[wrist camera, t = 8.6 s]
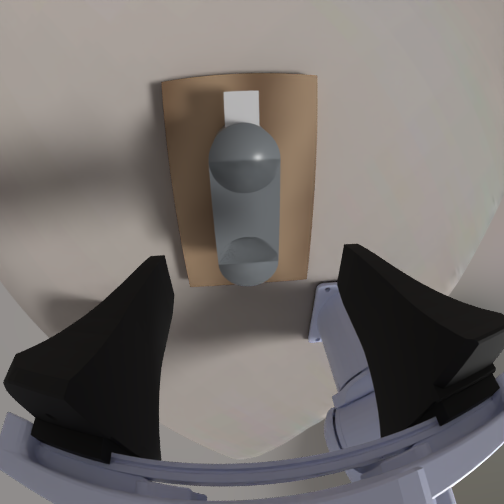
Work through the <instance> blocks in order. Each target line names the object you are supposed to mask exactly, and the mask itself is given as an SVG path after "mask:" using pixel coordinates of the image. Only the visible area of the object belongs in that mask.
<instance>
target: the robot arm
mask: <svg viewBox="0 0 504 504" xmlns="http://www.w3.org/2000/svg"><path fill="white" fill-rule="evenodd" d="M328 287H329V288H328ZM326 288H328V289H326ZM173 305H174V292H173V288H172V284H171V280H170V276H169V272H168V268H167V264H166V259H165V255H162V256H150V257H149V258H148V259H147V260H145V261H144V262H143V263H142V264H141V265H140V266H139V267H138V268H137V269H136V270H135V271H134V272H133V273H132V274H131V275H130V276H129V277H128V278H127V279H126V280H125V281H124V282H123V283H122V284H121V285H120V286H119V287H118V288H117V289H115V290H114V291H113V292H112V293H111V294H110V295H109V296H108V297H107V298H106V299H105V300H104V301H102V302H101V303H100V304H99V305H98V306H96V307H95V308H94V309H93V310H91V311H90V312H89V313H88V314H86V315H85V316H84V317H82V318H81V319H79V320H78V321H76V322H75V323H73V324H72V325H70V326H69V327H67V328H66V329H65V330H63V331H61V332H60V333H58V334H56V335H55V336H53V337H51V338H49V339H47V340H46V341H44V342H42V343H40V344H38V345H36V346H33V347H31V348H29V349H27V350H25V351H22V352H20V353H18V354H16V355H15V357H14V359H13V362H12V364H11V366H10V368H9V370H8V373H7V375H6V377H5V379H4V382H3V383H4V386H5V388H6V390H7V391H8V393H9V394H10V395H11V396H12V397H13V398H14V399H15V400H16V401H17V402H18V403H19V404H20V405H21V406H23V407H24V408H25V409H26V410H27V411H28V412H29V413H31V414H32V415H33V416H34V417H35V421H34V424H33V423H31V422H29V421H28V420H26V419H24V418H22V417H19V416H17V415H15V414H13V413H11V412H7V415H6V418H5V421H4V425H3V428H2V431H1V435H0V470H1V471H3V472H4V473H6V474H7V475H9V476H10V477H12V478H13V479H15V480H16V481H18V482H19V483H21V484H22V485H24V486H25V487H27V488H29V489H30V490H32V491H33V492H35V493H37V494H38V495H40V496H42V497H43V498H45V499H47V500H49V501H51V502H52V503H54V504H456V501H455V498H454V494H453V491H452V488H451V487H452V486H454V485H455V484H456V483H458V482H459V481H460V480H462V479H463V478H464V477H466V476H467V475H468V474H469V473H471V472H472V471H473V470H474V469H476V468H477V467H478V466H479V465H480V464H481V463H483V462H484V461H485V460H486V459H487V458H489V457H490V456H491V455H492V454H493V453H494V452H495V451H496V450H497V449H498V448H499V447H500V446H501V445H502V444H503V443H504V372H503V373H502V374H500V375H499V376H498V377H497V378H496V379H495V377H494V376H493V374H492V373H494V372H495V370H496V368H495V366H494V364H493V362H494V361H495V359H496V358H497V357H498V356H499V354H500V353H501V352H502V350H503V349H504V315H503V314H501V313H498V312H494V311H490V310H485V309H481V308H478V307H475V306H472V305H469V304H466V303H463V302H461V301H458V300H455V299H453V298H451V297H448V296H446V295H444V294H442V293H439V292H437V291H435V290H433V289H431V288H429V287H428V286H426V285H424V284H422V283H420V282H418V281H416V280H415V279H413V278H411V277H410V276H408V275H407V274H405V273H403V272H402V271H400V270H398V269H397V268H395V267H394V266H392V265H391V264H389V263H388V262H386V261H385V260H383V259H382V258H380V257H379V256H377V255H376V254H374V253H373V252H371V251H369V250H368V249H366V248H364V247H363V246H361V245H359V244H344V248H343V254H342V260H341V265H340V271H339V276H338V281H337V282H332V283H322V284H319V285H318V286H317V288H316V294H315V300H314V307H313V313H312V319H311V324H310V330H309V335H308V341H309V342H310V343H315V342H323V345H324V348H325V352H326V355H327V358H328V361H329V364H330V368H331V371H332V374H333V377H334V381H335V384H336V387H337V391H338V393H337V394H335V395H333V396H332V399H333V403H334V406H335V407H333V408H331V409H330V410H329V411H328V413H327V416H326V420H325V424H324V434H325V439H326V443H327V446H328V449H329V451H330V452H328V453H323V454H318V455H312V456H307V457H301V458H294V459H287V460H279V461H269V462H258V463H241V464H197V463H179V462H169V461H161V451H160V437H159V390H160V376H161V367H162V361H163V356H164V351H165V347H166V342H167V338H168V333H169V329H170V324H171V320H172V314H173ZM342 471H345V473H346V474H347V475H348V477H349V479H350V481H351V482H352V483H349V484H345V485H341V486H337V487H333V488H328V489H324V490H319V491H314V492H308V493H303V494H296V495H290V496H283V497H275V498H265V499H254V500H237V501H207V496H206V495H204V494H199V493H195V492H193V491H191V489H189V488H184V487H177V486H170V485H165V484H160V483H155V482H163V483H171V484H182V485H194V486H250V485H251V486H252V485H265V484H276V483H284V482H291V481H298V480H304V479H310V478H315V477H320V476H325V475H329V474H334V473H338V472H342ZM152 481H155V482H152Z"/></svg>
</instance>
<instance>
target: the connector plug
mask: <svg viewBox="0 0 504 504" xmlns="http://www.w3.org/2000/svg"><path fill="white" fill-rule="evenodd" d="M224 114H225V125H224V126H223V127H222V128H221V129H220V130H219V131H218V133H217V134H216V137H215V139H214V141H213V144H212V146H211V149H210V152H209V174H210V186H211V197H212V208H213V218H214V228H215V238H216V247H217V256H218V265H219V269H220V271H221V273H222V275H223V276H224V277H225V278H226V279H227V280H228V281H230V282H231V283H234V284H236V285H240V286H255V285H258V284H261V283H263V282H265V281H267V280H268V279H269V278H271V277H272V275H273V274H274V273H275V271H276V269H277V267H278V261H279V228H280V168H281V158H280V151H279V148H278V145H277V143H276V141H275V140H274V139H273V137H272V136H271V135H270V134H269V133H268V132H266V131H265V130H264V129H263V128H262V127H261V126H260V125H259V91H230V92H224Z"/></svg>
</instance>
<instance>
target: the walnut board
mask: <svg viewBox="0 0 504 504" xmlns="http://www.w3.org/2000/svg"><path fill="white" fill-rule="evenodd" d="M230 91H259V125H260V126H261V127H262V128H263V129H264V130H265V131H266V132H268V133H269V134H270V135H271V136H272V137H273V139H274V140H275V141H276V143H277V145H278V148H279V151H280V158H281V168H280V228H279V261H278V267H277V269H276V271H275V273H274V274H273V275H272V277H271V278H269V279H268V280H267V281H265V282H278V281H291V280H303V279H307V271H308V261H309V251H310V241H311V229H312V217H313V203H314V188H315V170H316V146H317V76H316V75H303V74H281V73H246V74H225V75H212V76H201V77H193V78H185V79H178V80H171V81H165V82H162V97H163V110H164V121H165V131H166V141H167V150H168V158H169V166H170V174H171V181H172V188H173V195H174V202H175V208H176V214H177V220H178V226H179V232H180V238H181V243H182V249H183V254H184V259H185V264H186V269H187V274H188V279H189V284H190V287H200V286H218V285H235V284H234V283H231V282H230V281H228V280H227V279H226V278H225V277H224V276H223V275H222V273H221V271H220V269H219V265H218V256H217V247H216V238H215V228H214V218H213V208H212V197H211V186H210V174H209V152H210V149H211V146H212V144H213V141H214V139H215V137H216V134H217V133H218V131H219V130H220V129H221V128H222V127H223V126H224V125H225V114H224V92H230ZM265 282H263V283H265Z"/></svg>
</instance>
